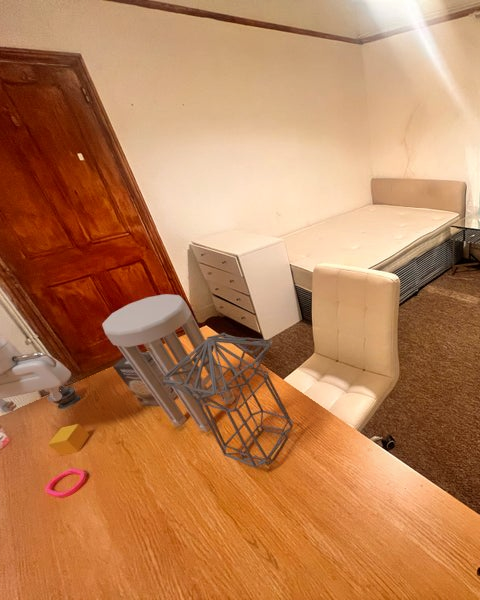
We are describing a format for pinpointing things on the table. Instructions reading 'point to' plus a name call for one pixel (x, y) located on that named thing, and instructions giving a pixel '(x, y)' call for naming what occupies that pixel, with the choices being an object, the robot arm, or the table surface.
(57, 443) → the yellow block
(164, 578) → the table surface
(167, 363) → the stool
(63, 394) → the dark gray tiered ornament
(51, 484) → the fitness band
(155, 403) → the coffee box
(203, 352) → the geometric lantern
